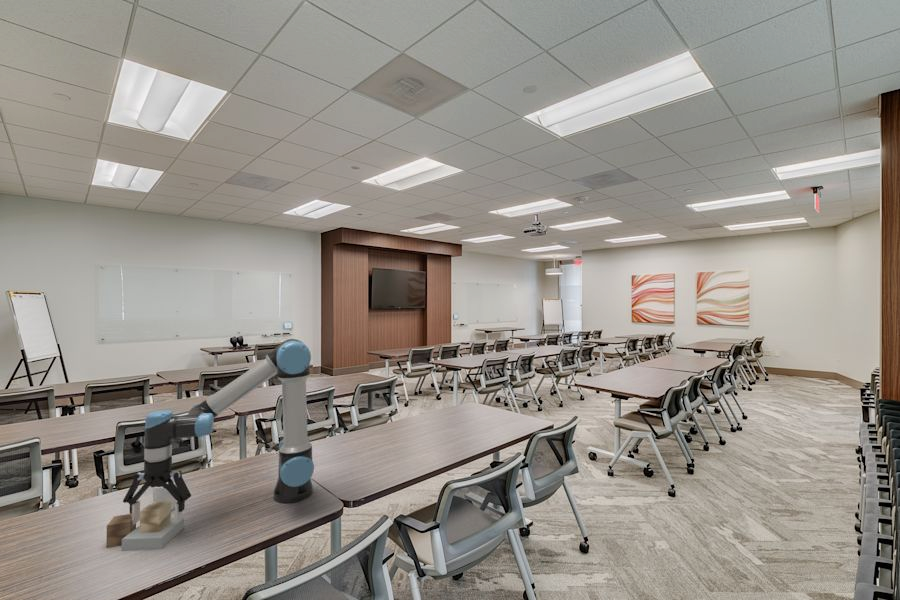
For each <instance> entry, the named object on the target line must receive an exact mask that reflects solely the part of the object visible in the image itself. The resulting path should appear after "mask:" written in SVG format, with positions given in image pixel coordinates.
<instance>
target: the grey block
mask: <svg viewBox="0 0 900 600" xmlns="http://www.w3.org/2000/svg"><path fill="white" fill-rule="evenodd" d="M183 529H185V518H184V517H182V519H181V520H180V521H179V522H178V523H175V517H171V522H170V523H169V524H168V525H167V526H166V527H164V528H163V529H162V530H161V531H160V532H148V533H140V525H138V526H136V529H134V530H133V531H132V532H131V533H129V534H128V535H127V536H125V537H124V538H123V539H122V545H121V551H142V550H143V551H147V550H162V549H163V548H165V546H167V544H168V543H170V541H172V540H173V539H174V537H176V536H177V535H178V534H180V532H181V531H183Z"/></svg>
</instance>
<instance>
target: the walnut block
mask: <svg viewBox="0 0 900 600" xmlns="http://www.w3.org/2000/svg"><path fill="white" fill-rule="evenodd" d="M136 528H137V523H136V524H134V525H132V514H130V513H126V514H120V515H116V516H113V517H112V518H111V520H110V521H109V522H108V524H107V525H106V548H112V547H116V546H117V547H118V546H122V539H123V538H124V537H125V536H127V535H128V534H129V533H131V532H132V531H133V530H134V529H136Z"/></svg>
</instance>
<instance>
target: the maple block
mask: <svg viewBox="0 0 900 600" xmlns="http://www.w3.org/2000/svg"><path fill="white" fill-rule="evenodd" d="M171 514H172V510H171V502H153V501H152V502H151V503H150V504H148V505H146V506H145V507H143V509H140V520H139V526H140V533H148V532H160V531H161V530H162V529H163V528H164V527H166V526H167V525H168V524H169V523H170V522H171V518H172V515H171Z"/></svg>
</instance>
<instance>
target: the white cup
mask: <svg viewBox="0 0 900 600" xmlns="http://www.w3.org/2000/svg"><path fill="white" fill-rule="evenodd" d="M171 479H172V478H171ZM172 480H173V483H174V484H175V482H174V479H172ZM166 484H168V482H167V483H166ZM175 486H176V484H175ZM176 487H177V486H176ZM152 502H171V511H172V510H175V503H176V502H177V501H176V499H175V498H174V497H173V496H172V495H171V494H170V493H169V492H168V490H167V489H165V488H163V487H152Z"/></svg>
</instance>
